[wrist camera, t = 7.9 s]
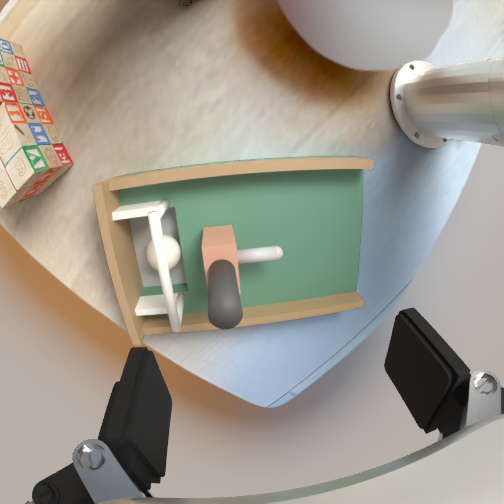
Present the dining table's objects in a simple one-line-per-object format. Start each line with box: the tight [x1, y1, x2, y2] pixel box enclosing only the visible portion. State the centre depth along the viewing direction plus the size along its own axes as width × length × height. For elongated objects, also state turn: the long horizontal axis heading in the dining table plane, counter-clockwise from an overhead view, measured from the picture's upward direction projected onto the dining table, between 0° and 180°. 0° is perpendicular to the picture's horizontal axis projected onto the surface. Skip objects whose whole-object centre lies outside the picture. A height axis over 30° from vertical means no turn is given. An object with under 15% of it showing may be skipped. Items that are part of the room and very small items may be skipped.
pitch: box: [92, 156, 374, 346], centre depth 30 cm, size 28×18×9 cm, turn 94°
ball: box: [146, 235, 181, 270], centre depth 31 cm, size 4×4×4 cm
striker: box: [202, 225, 283, 329], centre depth 26 cm, size 8×5×13 cm, turn 94°
